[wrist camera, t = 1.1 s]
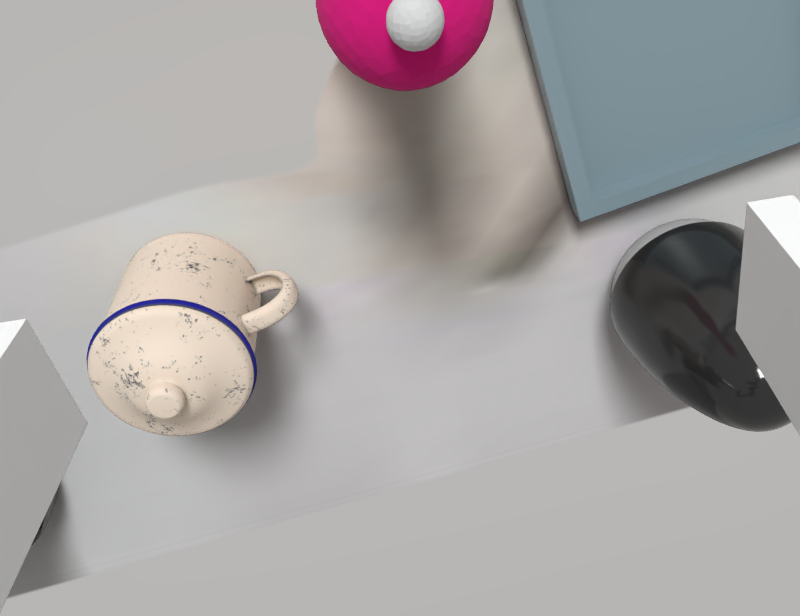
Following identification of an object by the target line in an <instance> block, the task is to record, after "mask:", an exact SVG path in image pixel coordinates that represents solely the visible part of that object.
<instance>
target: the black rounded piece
mask: <svg viewBox="0 0 800 616" xmlns="http://www.w3.org/2000/svg"><path fill="white" fill-rule="evenodd" d="M743 240H744V230H743V229H741V228H739V227H737V226H734V225H731V224H727V223H723V222H715V221H710V220H704V219H682V220H676V221H672V222H669V223H666V224H663V225H660V226H658V227H656V228H654V229H652V230H650V231H649V232H647V233H646V234H644V235H643V236H642V237H640V238H639V239H638V240H637V241H636V242H635V243H634V244H633V245H632V246H631V247H630V248H629V249H628V250H627V252H626V253H625V254H624V256H623V257H622V259H621V261H620V263H619V265H618V267H617V269H616V272H615V275H614V280H613V285H612V296H611V304H610V311H611V318H612V322H613V325H614V328H615V330H616V332H617V334H618V336H619V338H620V339H621V341H622V342H623V344H624V345H625V347H626V348H627V349H628V351H629V352H630V353H631V354H632V356H633V357H634V358H635V359H636V360H637V361H638V362H639V364H640V365H641V366H642V367H643V368H644V369H645V370H646V371H647V372H648V373H649V374H650V375H651V376H652V377H653V378H654V379H655V380H656V381H657V382H658V383H660V384H661V385H662V386H663V387H664V388H665V389H667V390H668V391H669V392H671V393H672V394H673V395H675V396H676V397H677V398H679V399H680V400H682V401H683V402H685V403H686V404H688V405H689V406H691V407H692V408H694V409H696V410H697V411H699V412H701V413H703V414H704V415H706V416H708V417H710V418H712V419H714V420H716V421H718V422H720V423H723V424H725V425H728V426H731V427H734V428H738V429H742V430H747V431H755V432H756V431H757V432H760V431H761V432H762V431H770V430H774V429H778V428H781V427H783V426H785V425H787V424H789V423H791V420H790V419H789V417H788V416H787V414H786V412H785V411H784V409H783V407H782V406H781V404H780V402H779V401H778V399H777V397H776V396H775V394H774V392H773V391H772V389H771V387H770V386H769V384H768V382H767V381H766V379H765V377H764V376H763V374H762V372H761V371H760V369H759V367H758V366H757V364H756V363H755V361H754V359H753V358H752V356H751V354H750V353H749V351H748V349H747V348H746V346H745V344H744V343H743V341H742V339H741V338H740V336H739V334H738V333H737V331H736V318H737V307H738V296H739V285H740V273H741V262H742V251H743Z"/></svg>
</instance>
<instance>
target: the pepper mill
mask: <svg viewBox="0 0 800 616" xmlns="http://www.w3.org/2000/svg"><path fill="white" fill-rule="evenodd" d="M493 1H494V0H316V8H317V14H318V19H319V23H320V25H321V28H322V31H323V34H324V36H325V38H326V40H327V42H328V44H329V46H330V47H331V48H332V50H333V52H334V53H335V54H336V56H337V57H338V59H339V60H340V61H341V62H342V63H343V64H344V65H345V66H346V67H347V68H348V69H349V70H350V71H351V72H352V73H354V74H355V75H357V76H358V77H360V78H362V79H364V80H366V81H367V82H369V83H372V84H374V85H377V86H379V87H382V88H387V89H392V90H397V91H409V90H418V89H423V88H427V87H430V86H433V85H435V84H438V83H440V82H443V81H444V80H446V79H447V78H449V77H451V76H452V75H454V74H455V73H457V72H458V71H459V70H460V69H461V68H462V67H463V66H464V65H465V64H466V63H467V62H468V61H469V60H470V59H471V57H472V56H473V55H474V54H475V53H476V51H477V50H478V48H479V46H480V44H481V43H482V41H483V39H484V37H485V35H486V33H487V30H488V27H489V23H490V20H491V15H492V10H493Z"/></svg>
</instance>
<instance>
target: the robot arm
mask: <svg viewBox="0 0 800 616" xmlns="http://www.w3.org/2000/svg"><path fill="white" fill-rule="evenodd" d="M736 331H737V333H738V334H739V336H740V338H741V339H742V341H743V343H744V344H745V346H746V348H747V349H748V351H749V353H750V354H751V356H752V358H753V359H754V361H755V363H756V364H757V366H758V367H759V369H760V371H761V372H762V374H763V376H764V377H765V379H766V381H767V382H768V384H769V386H770V387H771V389H772V391H773V392H774V394H775V396H776V397H777V399H778V401H779V402H780V404H781V406H782V407H783V409H784V411H785V412H786V414H787V416H788V417H789V419H790V420H791V422H792V424H793V425H794V427H795V429H796V430H797V432H798V434H799V435H800V202H799V201H798V199H797V198H796V197H795V196H794V195H790V196H784V197H778V198H772V199H766V200H759V201H753V202H747V206H746V217H745V229H744V240H743V251H742V262H741V273H740V285H739V296H738V307H737V318H736ZM87 424H88V423H87V421H86V420H85V418H84V416H83V415H82V413H81V411H80V409H79V408H78V406H77V404H76V403H75V401H74V399H73V397H72V396H71V394H70V392H69V391H68V389H67V387H66V385H65V384H64V382H63V380H62V379H61V377H60V375H59V373H58V372H57V370H56V368H55V367H54V365H53V363H52V361H51V360H50V358H49V356H48V355H47V353H46V351H45V349H44V348H43V346H42V344H41V343H40V341H39V339H38V337H37V336H36V334H35V332H34V331H33V329H32V327H31V325H30V324H29V322H28V320H27V319H21V320H15V321H9V322H3V323H0V612H1V610H2V607H3V605H4V603H5V601H6V599H7V597H8V595H9V592H10V590H11V588H12V586H13V584H14V582H15V579H16V577H17V575H18V573H19V571H20V569H21V566H22V564H23V562H24V560H25V558H26V556H27V554H28V551H29V549H30V547H31V546H32V545H33V544H34V542H35V541H36V540H37V539H38V538H39V536H40V535H41V533H42V532H43V530H44V528H45V527H46V525H47V522H48V520H49V517H50V515H51V512H52V510H53V507H54V504H55V501H56V498H57V493H58V487H59V484H60V482H61V480H62V478H63V476H64V474H65V471H66V469H67V467H68V465H69V463H70V461H71V458H72V456H73V454H74V452H75V450H76V448H77V446H78V443H79V441H80V439H81V437H82V435H83V433H84V430H85V428H86V426H87Z"/></svg>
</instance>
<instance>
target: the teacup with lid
mask: <svg viewBox="0 0 800 616" xmlns="http://www.w3.org/2000/svg"><path fill="white" fill-rule="evenodd" d="M276 289H279V290H280V292H279V293H278V295H277V296H276V297H275V298H274V299H272V300H271V301H270V302H269V303H267V304H265V305H264V306H262V307H260V305H261V293H264V292H267V291H270V290H276ZM297 300H298V289H297V286H296V284H295V283H294V281H293V279H292V278H291V277H290V276H289V275H288V274H286V273H284V272H282V271H275V270H274V271H266V272H262V273H259V274H256V273H255V271H254V269H253V267H252V266H251V264H250V263H249V262H248V261H247V259H246V258H245V257H244V256H243V255H242V254H241V253H240V252H238V251H237V250H236V249H235V248H233V247H232V246H230V245H228V244H227V243H225V242H223V241H221V240H218V239H216V238H213V237H210V236H206V235H202V234H194V233H179V234H172V235H167V236H164V237H161V238H158V239H156V240H154V241H152V242H150V243H148V244H147V245H145V246H144V247H143V248H141V249H140V250H139V251H138V252H137V253H136V254H135V255H134V257H133V258H132V259H131V261H130V262H129V264H128V266H127V268H126V271H125V273H124V275H123V278H122V280H121V282H120V285H119V287H118V289H117V292H116V294H115V297H114V299H113V301H112V304H111V306H110V308H109V311H108V313H107V316H106V318H105V320H104V322H103V323H102V324H101V325H100V326H99V327H98V328H97V330H96V332H95V333H94V335H93V337H92V339H91V341H90V344H89V347H88V352H87V369H88V374H89V379H90V382H91V385H92V387H93V389H94V391H95V393H96V394H97V396H98V398H99V399H100V400H101V402H102V403H103V404H104V405H105V406H106V407H107V409H108V410H110V411H111V412H112V413H113V414H114V415H115V416H117V417H118V418H120V419H121V420H123V421H124V422H126V423H128V424H130V425H132V426H134V427H136V428H139V429H141V430H144V431H147V432H151V433H156V434H161V435H171V436H184V435H193V434H198V433H202V432H206V431H209V430H212V429H214V428H216V427H218V426H220V425H222V424H224V423H225V422H227V421H228V420H230V419H231V418H232V417H234V416H235V415H236V414H237V413H238V412H239V411H240V410H241V409H242V407H243V406H244V405H245V403H246V402H247V401H248V399H249V398H250V396H251V394H252V392H253V389H254V386H255V382H256V376H257V366H256V359H255V348H256V339H257V332H258V331H260V330H263V329H265V328H267V327H270V326H272V325H273V324H275V323H277V322H278V321H280V320H281V319H283V318H284V317H285V316H286V315H287V314H288V313H289V312H290V311H291V310H292V309H293V308H294V306H295V305H296V303H297Z"/></svg>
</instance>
